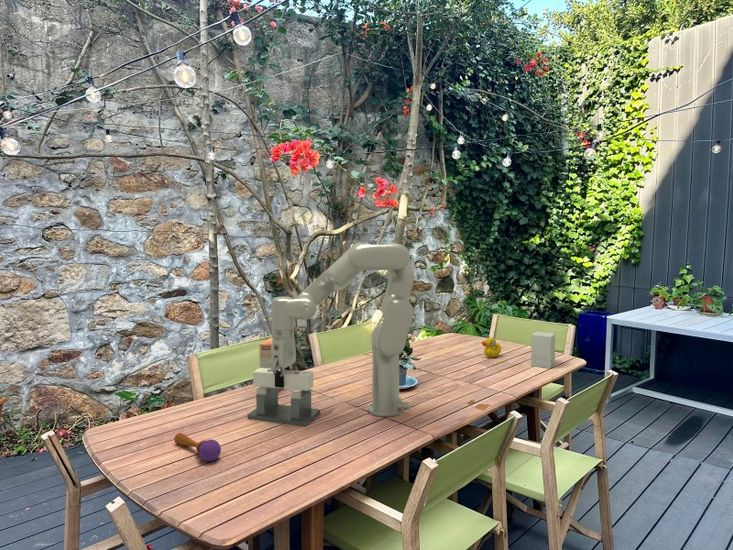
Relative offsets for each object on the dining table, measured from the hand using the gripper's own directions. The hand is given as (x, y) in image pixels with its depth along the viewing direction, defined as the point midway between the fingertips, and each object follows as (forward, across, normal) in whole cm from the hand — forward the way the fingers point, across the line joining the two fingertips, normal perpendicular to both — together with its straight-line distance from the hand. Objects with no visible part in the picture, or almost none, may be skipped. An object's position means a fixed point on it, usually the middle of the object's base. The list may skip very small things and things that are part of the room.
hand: (283, 384), depth 180 cm
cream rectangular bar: (+1, 0, 0) cm, 1 cm away
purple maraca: (+12, -33, +12) cm, 37 cm away
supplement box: (+11, +94, -86) cm, 128 cm away
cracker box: (+12, +22, +16) cm, 30 cm away
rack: (+12, 0, 0) cm, 12 cm away
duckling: (+11, +100, -62) cm, 118 cm away
